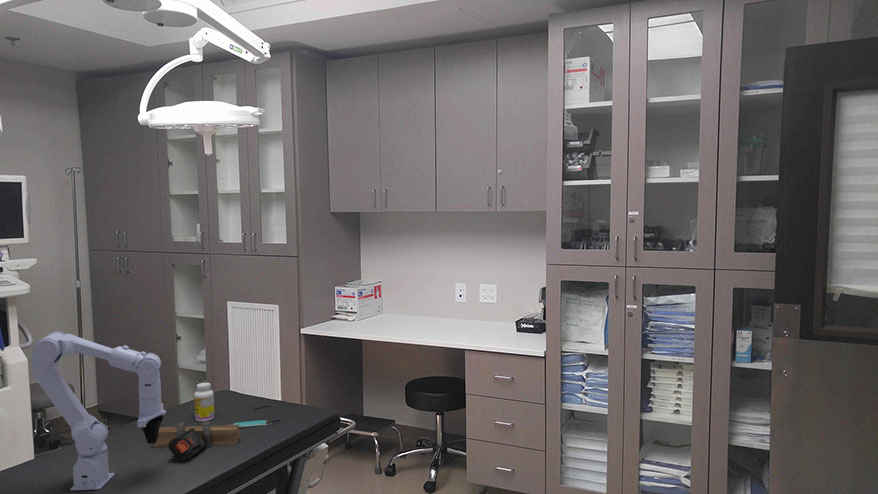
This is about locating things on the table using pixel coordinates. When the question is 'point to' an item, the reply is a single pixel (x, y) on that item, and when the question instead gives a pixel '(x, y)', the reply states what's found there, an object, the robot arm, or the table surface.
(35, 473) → the table surface
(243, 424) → the surgical mask
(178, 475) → the table surface
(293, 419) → the table surface
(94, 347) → the robot arm
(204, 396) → the supplement bottle
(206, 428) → the bar
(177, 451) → the battery
